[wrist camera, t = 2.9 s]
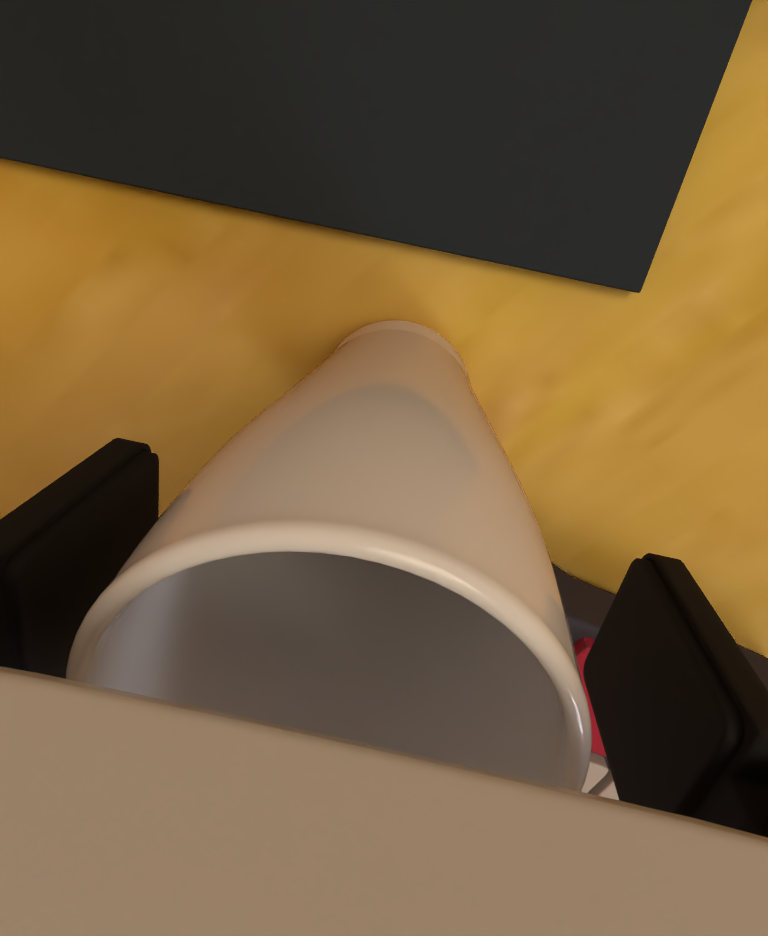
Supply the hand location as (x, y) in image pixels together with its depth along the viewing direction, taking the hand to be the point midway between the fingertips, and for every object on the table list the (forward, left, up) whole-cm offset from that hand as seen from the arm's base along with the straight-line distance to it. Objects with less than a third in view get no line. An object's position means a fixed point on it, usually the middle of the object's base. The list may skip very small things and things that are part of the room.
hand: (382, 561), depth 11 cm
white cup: (0, 0, -11) cm, 11 cm away
